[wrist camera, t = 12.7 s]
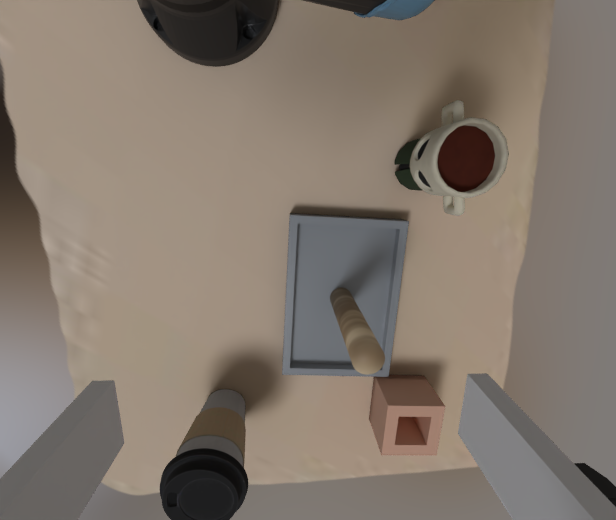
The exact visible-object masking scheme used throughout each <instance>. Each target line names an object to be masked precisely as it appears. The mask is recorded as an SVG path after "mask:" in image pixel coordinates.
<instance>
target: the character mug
mask: <svg viewBox="0 0 616 520" xmlns="http://www.w3.org/2000/svg"><path fill="white" fill-rule="evenodd" d="M452 113H453V123H452ZM508 155H509V153H508V147H507V141H506V138H505V136H504V135H503V133H502V132H501V130H500V129H499V127H498V126H496V125H495V124H493V123H491V122H490V121H488V120H487V119H481V118H472V117H471V118H466V119H464V104H463V102H462V101H460V100H456V101H454V102H452V103H450V104H448V105H446V106H444V107H443V109H442V127H440V128H437V129H434V130H432V131H430V132H428V133H426V134H425V135H424V136H423V137H422V138H421V139H417V140H414V141H411V142H408V143H407V144H406V145H405V146H404V147H403V148H402V149H401V150H400V151H399V152H398V154H397V157H396V159H395V164H400V167H399V168H400V171H396V172H395V175H396V177H397V179H398V180H399V182H400V183H401V184H402V185H404V186H405V187H406V188H408V189H411V190H424V191H425V192H427V193H428V194H432V195H438V196H443V207H444V212H445V213H447V214H451V215H456V216H460V215H462V214H463V213H464V198H471V197H474V196H477V195H480V194H483V193H486V192H487V191H488V190H489V189H490V188H492V187H493V186H494V185H495V184H497V182H498V181H499V179H500V178H501V176H502V174H503V173H504V171H505V169H506V165H507V160H508ZM453 197H454V206H453Z"/></svg>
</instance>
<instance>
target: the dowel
mask: <svg viewBox="0 0 616 520" xmlns="http://www.w3.org/2000/svg"><path fill="white" fill-rule="evenodd" d="M330 302H331V305H332V307H333V310H334V313H335V316H336V319H337V322H338V325H339V327H340V330H341V333H342V336H343V339H344V342H345V345H346V348H347V350H348V353H349V356H350V359H351V362H352V365H353V367H354V369H355V370H356V371H357V372H359V373H361V374H366V375H369V374H373V373H376V372H377V371H379V370H380V369H381V368H382V366H383V365H384V362H385V354H384V352H383V350H382V348H381V347H380V345H379V343H378V341H377V339H376V338H375V336H374V334H373V332H372V330H371V329H370V327H369V325H368V323H367V321H366V320H365V318H364V316H363V314H362V312H361V311H360V309H359V307H358V305H357V303H356V302H355V300H354V298H353V296H352V294H351V293H350V291H349V290H348V289H346V288H337V289H335V290H334V291H333V292H332V293H331V295H330Z"/></svg>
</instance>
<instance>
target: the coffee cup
mask: <svg viewBox="0 0 616 520" xmlns="http://www.w3.org/2000/svg"><path fill="white" fill-rule="evenodd" d="M245 432H246V430H245V401H244V399H243V397H242V396H241V395H240V394H239V393H238V392H236V391H233V390H228V389H223V390H218V391H215V392H213V393H212V394H211V395H210V396H209V397H208V399H207V401H206V403H205V404H204V406H203V408H202V410H201V412H200V413H199V415H198V416H197V417H196V418H195V420H194V422H193V424H192V426H191V427H190V429H189V431H188V433H187V435H186V436H185V438H184V440H183V442H182V444H181V446H180V447H179V449H178V451H177V454H176V457H175V458H174V459H172V460H171V461H170V462H169V463H168V465H167V466H166V467H165V469H164V471H163V474H162V478H161V483H160V495H161V499H162V505H163V508H164V511H165V513H166V514H167V516H168V517H169V518H170V519H171V520H229V519H230V518H231V517H232V516H233V515H234V513H235V512H236V511H237V510H238V509H239V508H240V506H241V505H242V503H243V501H244V499H245V496H246V493H247V489H248V478H247V474H246V472H245V470H244V456H245Z"/></svg>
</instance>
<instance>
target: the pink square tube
mask: <svg viewBox="0 0 616 520" xmlns="http://www.w3.org/2000/svg"><path fill="white" fill-rule="evenodd" d="M444 411H445V405H444V404H443V402H442V401H441V400H440V398H439V397H438V395H437V394H436V392H435V391H434V389H433V388H432V387H431V385H430V384H429V382H428V381H427V379H426V378H425V377H424V376H416V375H389V377H374V381H373V390H372V398H371V407H370V415H369V420H370V423H371V426H372V429H373V432H374V435H375V437H376V440H377V443H378V446H379V449H380V452H381V455H437V450H438V445H439V439H440V433H441V428H442V422H443V417H444Z"/></svg>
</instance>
